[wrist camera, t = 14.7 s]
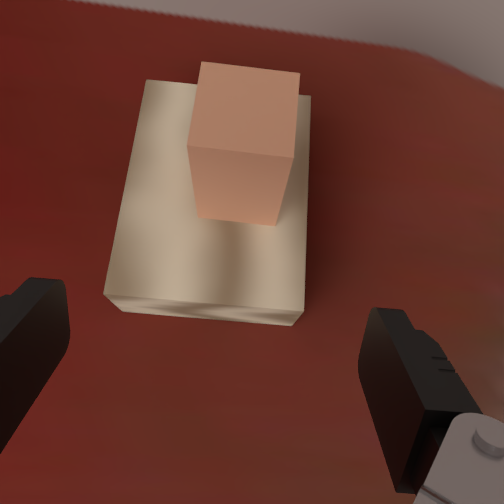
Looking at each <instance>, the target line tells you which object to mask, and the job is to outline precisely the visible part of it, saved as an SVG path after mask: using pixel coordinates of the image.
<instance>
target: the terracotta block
mask: <svg viewBox="0 0 504 504" xmlns="http://www.w3.org/2000/svg"><path fill="white" fill-rule="evenodd" d="M299 81H300V73H294V72H285V71H277V70H269V69H260V68H252V67H244V66H235V65H227V64H219V63H210V62H201V68H200V74H199V79H198V85H197V90H196V96H195V102H194V107H193V113H192V118H191V124H190V130H189V135H188V141H187V151H188V157H189V164H190V170H191V177H192V183H193V190H194V196H195V203H196V209H197V215H198V218H206V219H215V220H224V221H233V222H242V223H250V224H259V225H268V226H275V225H276V222H277V218H278V214H279V211H280V207H281V203H282V200H283V196H284V192H285V188H286V185H287V181H288V177H289V174H290V170H291V166H292V163H293V159H294V148H295V134H296V121H297V107H298V94H299Z"/></svg>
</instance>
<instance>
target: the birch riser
mask: <svg viewBox="0 0 504 504" xmlns="http://www.w3.org/2000/svg"><path fill="white" fill-rule="evenodd" d="M196 90H197V84H187V83H177V82H167V81H157V80H146V84H145V89H144V94H143V99H142V104H141V109H140V114H139V119H138V124H137V129H136V134H135V139H134V144H133V149H132V154H131V159H130V164H129V169H128V174H127V178H126V183H125V188H124V193H123V198H122V203H121V208H120V213H119V218H118V223H117V228H116V233H115V238H114V243H113V248H112V253H111V258H110V263H109V268H108V273H107V278H106V283H105V287H104V292H103V294H104V295H105V296H106V297H107V298H108V299H109V300H110V301H111V302H113V303H114V304H115V305H116V306H117V307H118V308H119V309H120V310H121V311H123V312H133V313H145V314H157V315H169V316H180V317H192V318H204V319H216V320H228V321H239V322H251V323H263V324H275V325H287V326H292V325H293V324H294V323H295V322H296V320H297V319H298V318H299V317H300V316H301V314H302V313H303V312H304V296H305V265H306V234H307V203H308V172H309V141H310V111H311V96H307V95H298V107H297V121H296V134H295V148H294V159H293V163H292V166H291V170H290V174H289V177H288V181H287V185H286V188H285V192H284V196H283V200H282V203H281V207H280V211H279V214H278V218H277V222H276V225H275V226H268V225H259V224H250V223H242V222H233V221H224V220H215V219H206V218H198V215H197V209H196V203H195V196H194V190H193V183H192V177H191V170H190V164H189V157H188V151H187V141H188V135H189V130H190V124H191V118H192V113H193V107H194V102H195V96H196Z"/></svg>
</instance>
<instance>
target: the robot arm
mask: <svg viewBox="0 0 504 504" xmlns="http://www.w3.org/2000/svg"><path fill="white" fill-rule="evenodd" d="M69 339H70V325H69V316H68V306H67V297H66V288H65V284H64V282H63V281H62V280H57V279H46V278H34V277H31V278H28V279H27V280H26V281H25V282H24V283H23V284H22V285H21V286H20V287H19V288H18V289H17V290H16V291H15V292H14V293H13V294H11V295H4V296H2V297H0V454H1V452H2V451H3V449H4V447H5V446H6V444H7V443H8V441H9V440H10V438H11V437H12V435H13V433H14V432H15V430H16V429H17V427H18V426H19V424H20V423H21V421H22V420H23V418H24V416H25V415H26V413H27V412H28V410H29V409H30V407H31V406H32V404H33V403H34V401H35V399H36V398H37V396H38V395H39V393H40V392H41V390H42V389H43V387H44V386H45V384H46V382H47V381H48V379H49V378H50V376H51V375H52V373H53V372H54V370H55V369H56V367H57V365H58V364H59V362H60V361H61V359H62V358H63V356H64V354H65V353H66V350H67V348H68V344H69ZM358 373H359V378H360V382H361V385H362V388H363V391H364V394H365V397H366V401H367V404H368V407H369V410H370V413H371V416H372V419H373V422H374V426H375V429H376V432H377V435H378V438H379V441H380V444H381V447H382V450H383V454H384V457H385V460H386V463H387V466H388V469H389V472H390V475H391V479H392V482H393V485H394V488H395V491H396V493H410V494H415V495H416V499H415V501H414V503H413V504H504V423H502V422H500V421H498V420H496V419H494V418H491V417H489V416H486V415H483V413H482V412H481V410H480V408H479V407H478V405H477V404H476V402H475V400H474V399H473V397H472V396H471V394H470V393H469V391H468V389H467V388H466V386H465V385H464V383H463V382H462V380H461V378H460V377H459V375H458V374H457V373H455V369H454V367H453V366H452V364H451V363H450V361H447V356H446V355H445V353H444V352H443V350H442V349H441V347H440V345H439V344H438V343H437V342H436V341H435V340H433V339H432V338H431V337H430V336H429V335H427V334H426V333H425V332H424V331H423V330H415V329H414V327H413V325H412V324H411V322H410V320H409V319H408V317H407V315H406V313H405V312H404V311H403V310H400V309H388V308H376V307H374V308H372V309H371V311H370V314H369V317H368V321H367V325H366V329H365V333H364V337H363V341H362V345H361V349H360V354H359V360H358Z"/></svg>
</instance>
